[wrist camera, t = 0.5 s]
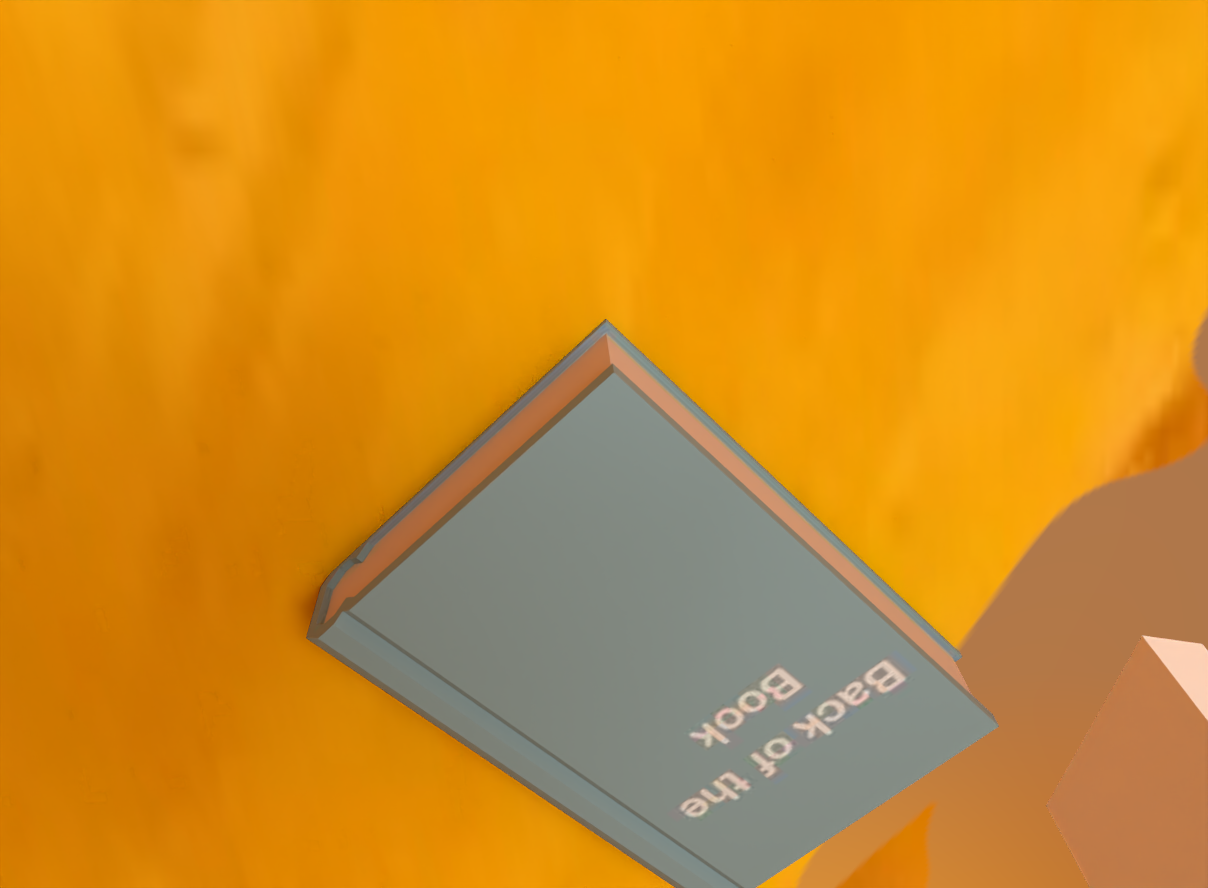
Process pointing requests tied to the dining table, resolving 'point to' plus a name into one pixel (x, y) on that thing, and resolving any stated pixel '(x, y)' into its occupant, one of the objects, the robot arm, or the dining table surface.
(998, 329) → the dining table surface
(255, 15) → the dining table surface
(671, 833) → the book
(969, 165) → the dining table surface
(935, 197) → the dining table surface
